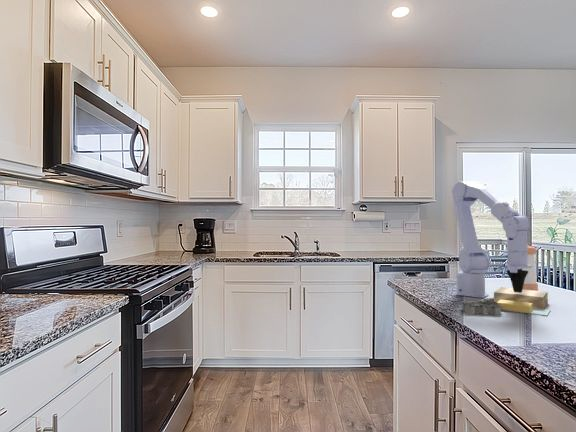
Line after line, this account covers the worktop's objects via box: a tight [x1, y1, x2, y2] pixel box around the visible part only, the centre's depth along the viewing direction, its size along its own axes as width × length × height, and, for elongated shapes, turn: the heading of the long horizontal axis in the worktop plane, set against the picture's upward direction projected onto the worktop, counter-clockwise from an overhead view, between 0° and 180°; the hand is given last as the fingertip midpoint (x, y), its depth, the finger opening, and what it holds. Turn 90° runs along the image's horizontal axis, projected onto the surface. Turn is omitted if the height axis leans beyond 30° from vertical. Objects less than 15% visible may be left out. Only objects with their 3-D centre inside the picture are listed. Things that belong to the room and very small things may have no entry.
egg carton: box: [460, 297, 502, 316], centre depth 117 cm, size 11×8×4 cm
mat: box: [501, 308, 551, 317], centre depth 119 cm, size 18×8×1 cm, turn 49°
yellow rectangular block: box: [497, 299, 533, 314], centre depth 118 cm, size 9×6×2 cm, turn 49°
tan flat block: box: [493, 287, 549, 309], centre depth 127 cm, size 14×12×4 cm
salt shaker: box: [522, 243, 539, 291], centre depth 149 cm, size 7×7×19 cm
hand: (517, 292), depth 124 cm, fingers closed
